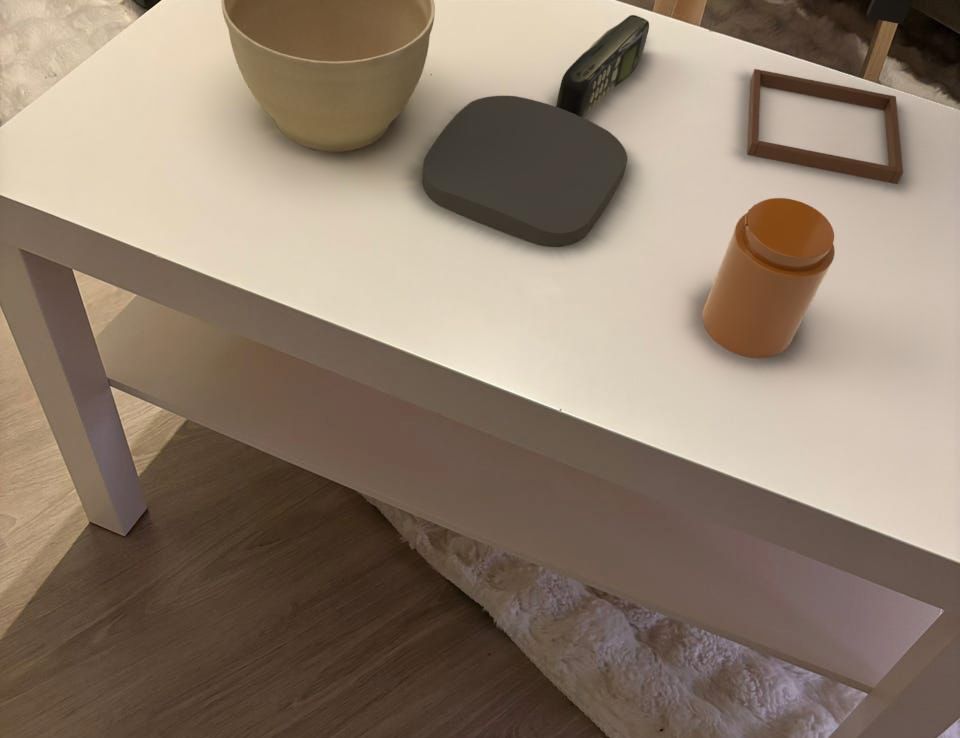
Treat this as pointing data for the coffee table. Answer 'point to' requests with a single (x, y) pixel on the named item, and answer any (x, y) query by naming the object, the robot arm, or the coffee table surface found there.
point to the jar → (768, 277)
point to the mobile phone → (603, 66)
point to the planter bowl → (331, 64)
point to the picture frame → (817, 158)
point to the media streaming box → (525, 169)
